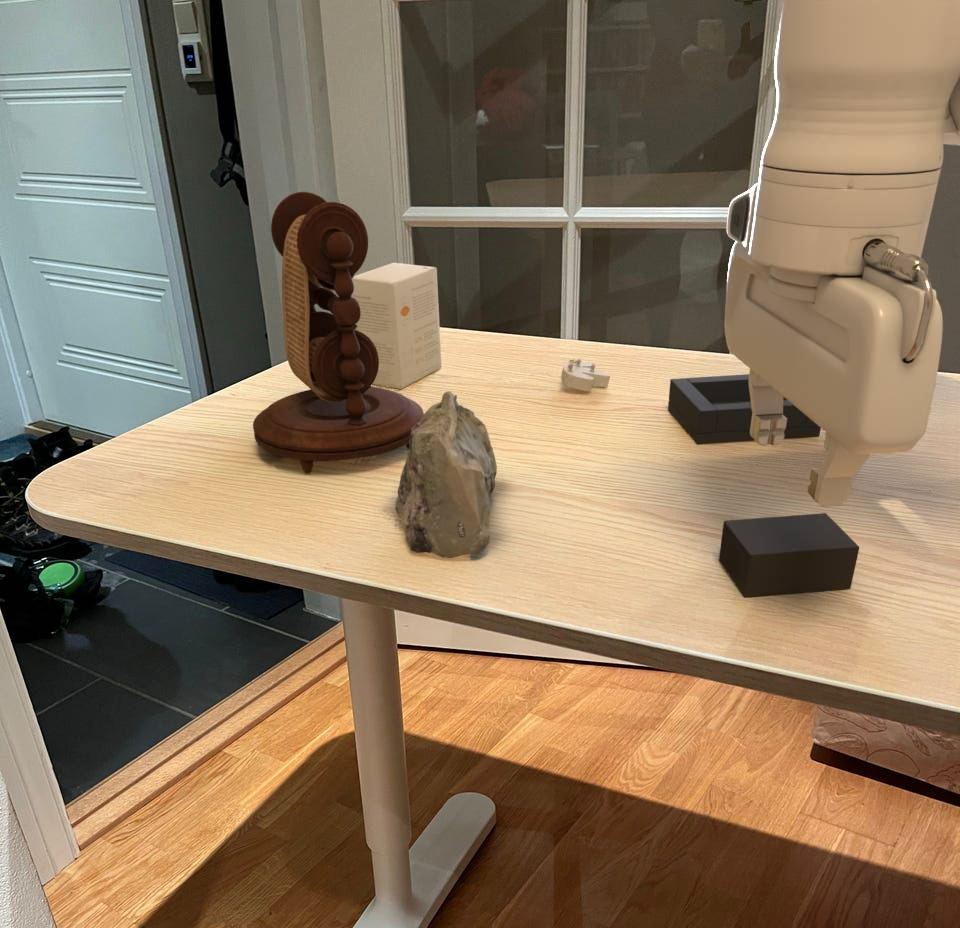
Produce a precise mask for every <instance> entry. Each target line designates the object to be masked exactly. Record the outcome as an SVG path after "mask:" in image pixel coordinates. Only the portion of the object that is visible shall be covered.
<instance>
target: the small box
mask: <svg viewBox="0 0 960 928" xmlns="http://www.w3.org/2000/svg"><path fill="white" fill-rule="evenodd" d="M352 281H353V284H354V292H353V294H352V296H351V297H352V298H355V299H356V300H357V301H358V303H359V306H360V311H361V316H360V320H359V321H358V322H357V323H356V324H357V326H358V327H357V328H356V329H355V330H357V331H360V332H362V333H363V334H365V335H366V336H367V337H368V338H370V340H371V341H372V342H373V344H374V345H375V347H376V349H377V352H378V357H379V368H378V373H377V376H376V378H375V380H374V382H373V384H372V385H375V386H381V387H386V388H391V389H395V390H396V389H397V390H402V389H403V388H405V387H407V386H410V385H411V384H413V383H415V382H417V381H419V380H421V379H423V378H425V377H427V376H429V375H431V374H433V373H435V372H436V371H439V370H441V368H442V350H441V349H442V346H441V325H440V309H439V308H440V307H439V289H438V269H437V267H436V266H427V265H418V264H409V263H400V262H391V263H389V264H385V265H383V266H379V267H377V268H374V269H371V270H367V271H365V272H361V273H359V274H355V275H354V277H353V279H352Z"/></svg>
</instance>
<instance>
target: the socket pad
mask: <svg viewBox="0 0 960 928" xmlns="http://www.w3.org/2000/svg"><path fill="white" fill-rule="evenodd" d="M748 380H749V373H747V374H728V375H715V376H713V375H712V376H698V377H697V376H696V377H682V378H681V377H680V378H670V380H669V392H668V403H667V411H668V412H669V413H670V415H671V416H672V417H673V418H674V419H675V420H676V422H677V423H678V424H679V425H680V426H681V427H682V429H683V430H684V431H685V432H686V434H687V435H688V436H689V437H690V438H691V440H693V442H694V443H695V445H697V446H698V445H713V444H726V443H727V444H728V443H741V442H756V441H755V440H754V439H753V438H752V437H751V436H750V426H751V420H752V413H753V412H752V408H751V400H750V391H749V383H748ZM783 415H784V416H785V417H786V418H787V423H786V429H785V430H784V439H783V440H786V439H788V440H789V439H802V438H817V437H820V435H821V430H822V428H821V427H819V426H818V425H817V424H816V423H815V422H813V421H812V420H811V419H810V418H809V417H807V416H806V415H805V414H804V413H803V412H801V411H800V410H799V409H798V408H797V407H795V406H794V405H793V404H792V403H791V402H789V401H788V400H787V399H786V398H785V397H784V396H783Z"/></svg>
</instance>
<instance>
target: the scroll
mask: <svg viewBox="0 0 960 928" xmlns="http://www.w3.org/2000/svg"><path fill="white" fill-rule="evenodd" d="M270 232H271V233H270V234H271V238H272V242H273V244H274V247H275V249H276V250H277V252H278V254H279V255H280V256H281V257H282V266H281V267H282V268H281V301H282V302H281V303H282V304H281V305H282V320H283V322H282V323H283V336H284V337H283V338H284V345H285V346H284V347H285V354H286V359H287V362H288V366H289V367H290V370H291V372H292V373H293V375H294V376H295V377H296V378H297V379H299V380H300V381H301V382H302V383H303V384H304V385H305V386H306V387H308V388H309V389H307V390H302V391H299V392H296V393H293V394H289V395H286V396H284V397H282V398H280V399H278V400H276V401H274V402H273V403H271V404H270V405H268V407H267V408H265V409H263V410H262V411H260V412H259V413H258V414H257V415H256V416H255V418H254V420H253V423H252V429H253V436H254V441H255V443H256V444H257V445H258V447H260V448H261V449H262V450H264V451H265V452H268V453H269V454H273V455H276V456H278V457H283V458H287V459H291V460H292V459H293V460H298V461H299V465H300V467H301V469H302V471H303V473H304V474H306V475H310V474H311V473H312V472H313V469H314V464H315V463H314V462H335V461H336V462H337V461H347V460H349V461H351V460H357V459H358V460H359V459H365V458H368V457H374V456H379V455H381V454H386V453H390V452H392V451H395V450H397V449H401V448H402V447H404V446H405V447H406V448H407V450H409V444H410V433H411V430H412V428H413V427H414V426H415V425H416V423H418V422H419V421H420V420H421V419H422V417H423V415H424V414H425V412H424V410H423V408H422V406H421V405H420V404H419V403H418V402H416V401H415V400H413V399H411V398H409V397H407V396H405V395H403V394H402V393H399V392H397V391H394V390H390V389H386V388H382V387H376V386H372V385H374V384H373V382H374V380H375V378H376V376H377V373H378V368H379V357H378V352H377V349H376V347H375V345H374V344H373V342H372V341H371V340H370V338H368V337H367V336H366V335H365V334H363V333H362V332H360V331H357V330H355V329H356V328H357V327H358V326H357V324H356V323H357V322H358V321H359V320H360V316H361V311H360V306H359V303H358V301H357V300H356V299H355V298H352V297H351V296H352V294H353V292H354V284H353V281H352V279H353V277H354V276H355V275H356V273H358V272H359V270H360V269H361V267H362V266H363V264H364V263H365V260H366V258H367V254H368V250H369V235H368V231H367V227H366V225H365V222H364V221H363V219H362V217H361V216H360V215H359V213H358V212H357V211H355V210H354V209H353V208H352V207H350V206H349V205H347V204H344V203H342V202H337V201H327V200H326V199H325V198H323V197H321V196H320V195H318V194H316V193H313V192H310V191H297V192H294V193H292V194H289V195H287V196H286V197H284V199H282V200H281V201H280V202H279V204H278V205H277V206H276V208H275V210H274V212H273V214H272V218H271V223H270ZM334 291H335V292H334ZM315 305H317V306H318V307H319V308H320V309H322V310H321V311H320V310H319V311H317V309H316V306H315ZM323 310H324V311H323Z"/></svg>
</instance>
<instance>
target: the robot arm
mask: <svg viewBox="0 0 960 928" xmlns="http://www.w3.org/2000/svg"><path fill="white" fill-rule="evenodd" d="M780 13H781V14H780V19H779V27H778V33H777V41H776V48H775V56H774V64H773V66H774V67H773V70H774V71H773V73H774V80H775V89H776V105H775V106H776V107H775V114H774V120H773V123H772V127H771V130H770V132H769V136H768V138H767V141H766V143H765V145H764V148H763V151H762V154H761V160H760V167H759V176H758V181H757V182H756V183H755V184H754V185H753V186H752V187H751V188H750V189H748V190H747V191H745V192H743V193H741V194H739V195H737V196H736V197H734V198H733V199H732V200H731V202H730V204H729V207H728V213H727V221H726V233H727V235H728V237H729V238H730V239H732V240H733V241H735V242H734V244H733V245H732V248H731V251H730V256H729V262H728V271H727V279H726V292H725V305H724V307H725V308H724V336H725V341H726V346H727V349H728V352H729V353H731V354H732V355H733V356H734V357H736V358H737V359H738V360H739V361H741V362H742V363H743V364H744V365H745V366H747V368H749V373H748V374H749V380H748V383H749V391H750V400H751V408H752V412H753V413H752V420H751V426H750V436H751V437H752V438H753V439H754V440H755V441H754V442H756V443H757V444H758V445H759V446H764V447H765V446H779V445H780V444H782V443H783V442H784V440H785V439H784V430H785V429H786V423H787V418H786V417H785V416H784V415H783V396H784V397H785V398H786V399H787V400H788V401H789V402H791V403H792V404H793V405H794V406H795V407H797V408H798V409H799V410H800V411H801V412H803V413H804V414H805V415H806V416H807V417H809V418H810V419H811V420H812V421H813V422H815V423H816V424H817V425H818V426H819V427H821V430H823V431H824V432H825V435H824V439H823V447H824V448H825V449H826V450H827V452H826V454H825V456H824V458H823V460H822V462H821V465H820V466H819V467H811V470H810V475H809V484H808V486H807V494H808V495H809V496H810V497H811V499H813V500H814V501H815V502H816V503H817V505H819V506H820V507H822V508H825V507H840V506H843V505H844V504H846V503H847V501H848V500H849V496H850V492H851V487H852V482H853V478H854V477H855V476H856V475H857V474H858V472H859V471H860V469H861V468H862V467H863V465H864V464H865V463H866V462H867V460H868V459H869V458H870V456H871V455H879V454H881V455H882V454H895V453H905V452H908V451H909V452H910V450H912V449H913V448H914V447H915V446H916V445H917V444H918V443H919V442H920V441H921V439H922V438H923V437H924V436H925V434H926V431H927V428H928V425H929V420H930V415H931V412H932V411H931V410H932V404H933V400H934V394H935V390H936V389H935V388H936V383H937V377H938V371H939V366H940V357H941V351H942V342H943V332H944V331H943V330H944V326H943V325H944V320H943V312H942V308H941V305H940V302H939V301H938V299H937V291H936V289H934V288H933V286H932V281H931V278H930V275H929V264H928V262H926V260H924V259H923V258H922V254H923V250H924V246H925V241H926V238H927V237H926V236H927V232H928V227H929V224H930V219H931V214H932V210H933V207H934V201H935V197H936V193H937V189H938V183H939V180H940V177H941V171H942V166H943V162H944V145H950V146H960V0H783V1H782V6H781V12H780Z"/></svg>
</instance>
